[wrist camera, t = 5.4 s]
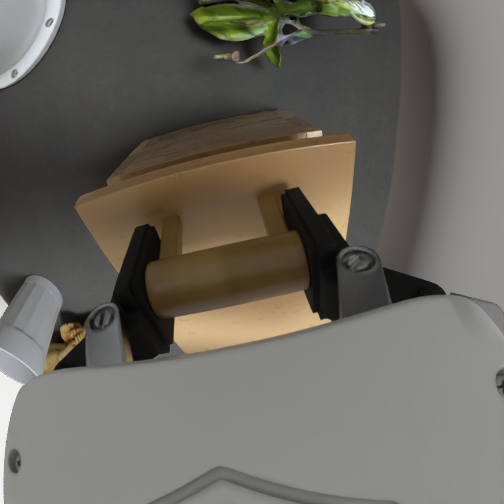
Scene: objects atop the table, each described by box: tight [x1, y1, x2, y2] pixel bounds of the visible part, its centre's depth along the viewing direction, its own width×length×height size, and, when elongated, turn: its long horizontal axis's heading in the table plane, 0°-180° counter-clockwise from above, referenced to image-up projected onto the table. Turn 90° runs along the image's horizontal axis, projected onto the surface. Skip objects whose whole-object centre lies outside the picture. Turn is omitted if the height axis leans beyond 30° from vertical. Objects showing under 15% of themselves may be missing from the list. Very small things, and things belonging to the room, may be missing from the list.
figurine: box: [43, 321, 86, 374], centre depth 30 cm, size 8×8×15 cm
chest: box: [106, 109, 322, 186], centre depth 22 cm, size 16×12×9 cm
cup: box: [0, 275, 63, 384], centre depth 24 cm, size 8×8×12 cm
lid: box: [74, 133, 356, 354], centre depth 15 cm, size 17×12×5 cm
